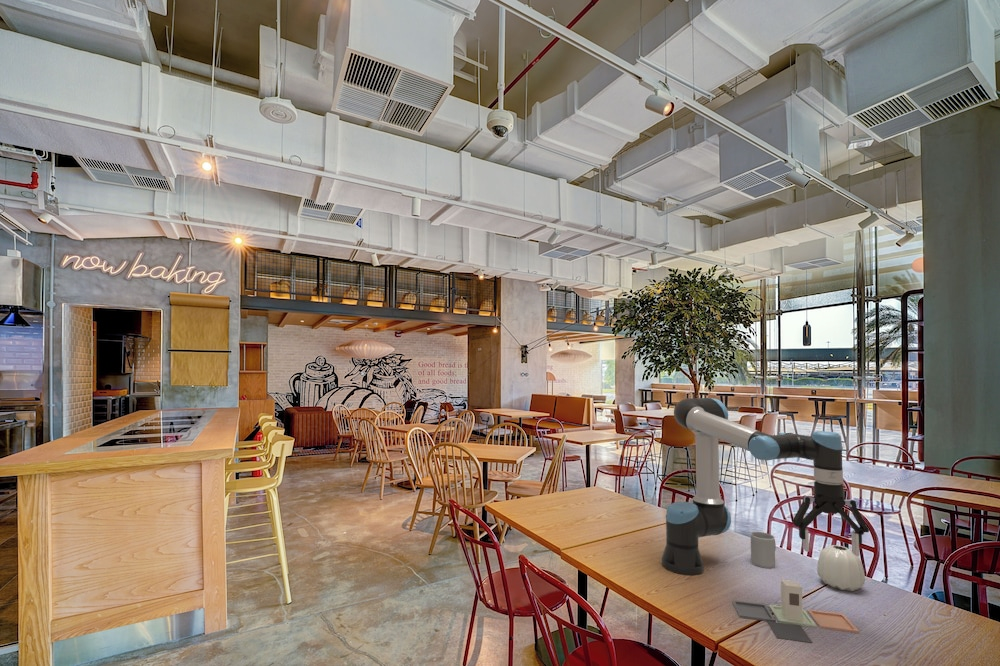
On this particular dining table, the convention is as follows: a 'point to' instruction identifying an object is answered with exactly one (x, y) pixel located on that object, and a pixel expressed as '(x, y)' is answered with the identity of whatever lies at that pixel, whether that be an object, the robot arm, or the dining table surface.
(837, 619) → the tray terracotta
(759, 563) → the mug
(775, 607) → the tray sage
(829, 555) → the vase
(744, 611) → the tray charcoal
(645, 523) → the dining table surface
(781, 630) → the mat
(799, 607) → the letter block
